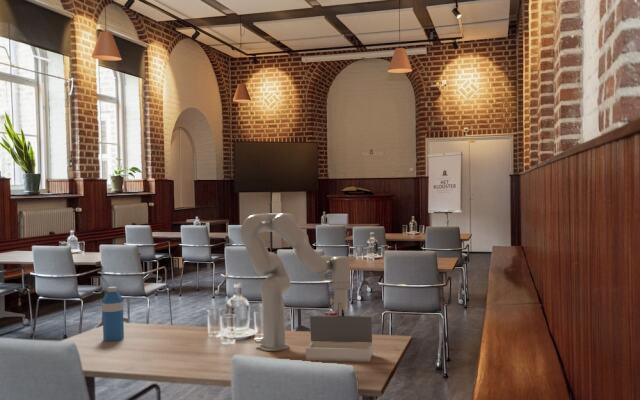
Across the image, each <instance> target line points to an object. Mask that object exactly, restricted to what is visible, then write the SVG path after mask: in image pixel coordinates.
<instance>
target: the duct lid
mask: <svg viewBox="0 0 640 400" xmlns="http://www.w3.org/2000/svg"><path fill="white" fill-rule="evenodd" d="M372 318H373V317H372V315H346V316H342V317H341V316H324V315H314V314H312V315H310V316H309V319H310V320H309V322H310V342H357V343H372V344H373V324H372V323H373V320H372Z"/></svg>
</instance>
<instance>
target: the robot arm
mask: <svg viewBox="0 0 640 400" xmlns="http://www.w3.org/2000/svg"><path fill="white" fill-rule="evenodd" d="M241 224H242V225H241V227H240V237H241V239H242V242H243V244H244V245H243V246H244V247H245V249H246V251H247V254H248V257H249V259H250V261H251V264H252V266H253V269H254V271H255V273H257V274H258V275H259V276H266V278H265V279H264V280H263V281H262V282H261V286H260V295H261V301H262V321H263V322H262V331H263V333H262V334H263V337H261V338H260V337H259V338H258V337H255V338H254V341H253V342H254V343H255V344H261V345H259V349H260V350H261V351H266V352H268V351H269V352H279V351H285V350H287V349H289V348H290V347H289V343H287V342H286V322H285V321H286V320H285V303H284V299H283V295H286V294H287V293H288V292H289V291H290V289H291V280H290V276H289V274H288V272H287V269H286V268H285V265H284V264H283V261H282V258H280V256H279V255H278V254H277V253H275V252H272V251H269V249H267V246H266V244H265V241H264V240H263V238H262V237H261V235H260V234H262V233H267V232H269V233H271V232H273V233H274V232H275V233H277V234H278V235H279V236H280V237H281V238H282V239H283V240H284V241H285V242H286V243H287V244H288V245H289V246H290V247H291V248H292V249H293V250H294V252H295V254H296V256H297V257H298V258H299V260H300V261H301V263H302V264H303V265H304V266H305V267H306V268H308V270H309V271H311V273H313V274H314V275H317V276H322V275H324V274H327V273H331V277H332V278H331V279H332V281H331V283H332V286H331V287H332V290H334V293H333V294H334V295H333V296H334V297H333V311H334V313H336V312H337V314H338V316H341V317H342V316H347V315H346V314H347V313H346V312H347V311H348V308H349V307H348V306H349V304H348V303H349V301H348V300H349V299H348V296H349V295H348V294H349V293H348V290H350V289H351V277H350V276H351V271H350V270H351V269H350V268H351V267H350V258H349V257H348V256H345V255H338V256H335V255H329V254H327V255H326V254H323V255H319V253H318V252H317V251H315V250H314V248H313V247H312V246H311V244H310V241H309V235H308V234H307V233H306V232H305V231H304V230H303V229H302V228H301V227H300V226H299V225H298V221H297V218H296V217H295V215H294V214H292V213H289V212H288V213H287V212H284V213H271V212H270V213H269V212H267V213H266V212H265V213H254V214H251V215H249V216H247V217H246V218H245V220H244V221H243V222H242V223H241Z"/></svg>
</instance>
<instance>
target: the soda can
mask: <svg viewBox="0 0 640 400" xmlns="http://www.w3.org/2000/svg"><path fill="white" fill-rule="evenodd" d="M323 316H338V311H337V312H336V313H334V310H326V311H324V314H323Z"/></svg>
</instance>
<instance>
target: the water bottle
mask: <svg viewBox="0 0 640 400" xmlns="http://www.w3.org/2000/svg"><path fill="white" fill-rule="evenodd" d="M101 299H102V305H101V306H102V333H103V334H102V335H103V336H102V337H103V339H102V340H103V341H104V340H105V342H117V340H118V341H122V340H123V338H124V339H125V335H124V334H125V332H124V331H125V329H124V298H123V296H122V295H121V294H120V293H119V291H118V287H117V286H109V287H107V292H106V293H105V294H104V296H103V298H101ZM121 339H122V340H121Z"/></svg>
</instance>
